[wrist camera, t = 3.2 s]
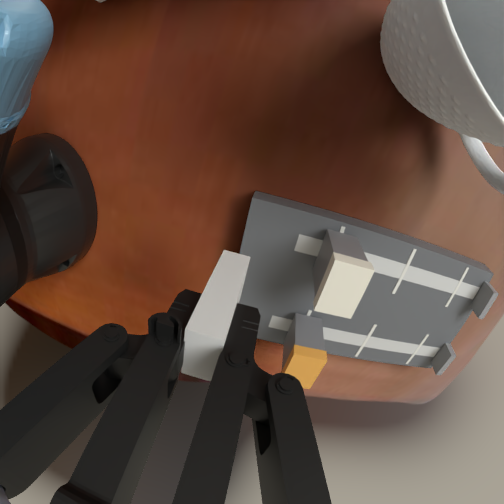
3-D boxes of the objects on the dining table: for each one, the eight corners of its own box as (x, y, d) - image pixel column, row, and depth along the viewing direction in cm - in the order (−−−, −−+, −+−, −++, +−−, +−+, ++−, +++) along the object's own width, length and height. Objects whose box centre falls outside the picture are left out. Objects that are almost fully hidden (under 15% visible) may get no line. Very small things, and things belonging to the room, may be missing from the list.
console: (226, 316, 28) (217, 344, 25) (255, 190, 22) (248, 206, 19) (426, 356, 28) (435, 380, 24) (484, 264, 22) (503, 285, 18)
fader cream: (310, 270, 22) (313, 310, 18) (326, 227, 20) (335, 259, 16) (341, 278, 22) (350, 318, 18) (358, 236, 20) (374, 270, 16)
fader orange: (282, 341, 26) (279, 383, 22) (294, 311, 24) (294, 354, 20) (308, 347, 26) (309, 389, 22) (323, 318, 24) (327, 360, 20)
